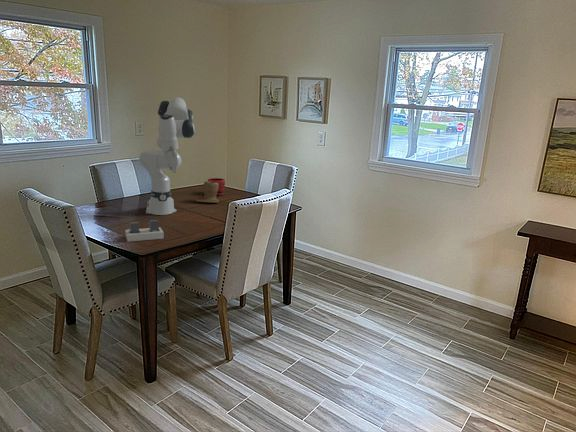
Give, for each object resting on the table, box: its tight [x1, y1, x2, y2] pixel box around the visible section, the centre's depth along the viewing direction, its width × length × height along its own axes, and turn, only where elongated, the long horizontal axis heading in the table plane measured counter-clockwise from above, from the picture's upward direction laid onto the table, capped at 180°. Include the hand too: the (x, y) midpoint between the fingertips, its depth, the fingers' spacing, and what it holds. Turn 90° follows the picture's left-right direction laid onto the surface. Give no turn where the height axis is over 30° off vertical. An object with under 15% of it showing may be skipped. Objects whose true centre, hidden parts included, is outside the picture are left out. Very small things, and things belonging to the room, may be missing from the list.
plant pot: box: [207, 177, 226, 197], centre depth 329 cm, size 13×13×12 cm
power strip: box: [125, 221, 165, 243], centre depth 231 cm, size 19×18×8 cm
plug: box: [149, 219, 160, 232], centre depth 229 cm, size 3×4×9 cm
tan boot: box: [196, 180, 220, 204], centre depth 305 cm, size 15×12×15 cm
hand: (172, 171), depth 238 cm, fingers open, 8 cm apart
